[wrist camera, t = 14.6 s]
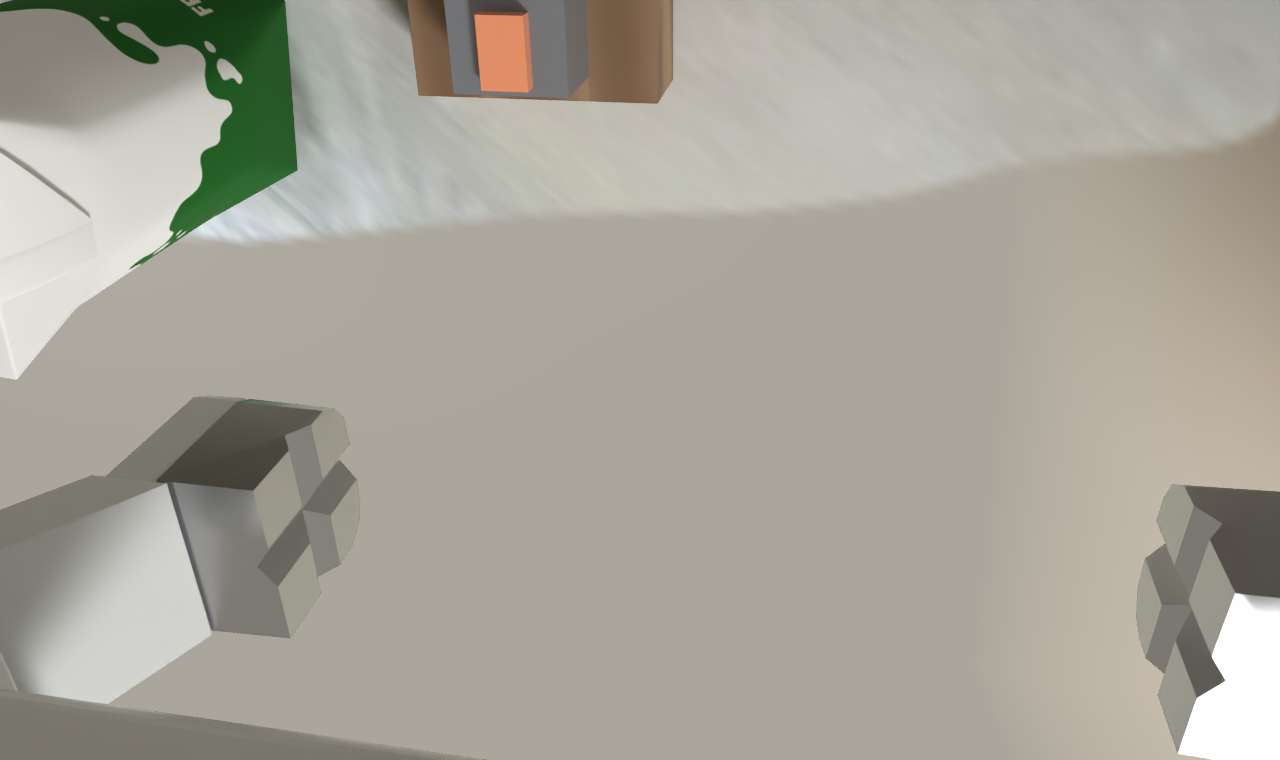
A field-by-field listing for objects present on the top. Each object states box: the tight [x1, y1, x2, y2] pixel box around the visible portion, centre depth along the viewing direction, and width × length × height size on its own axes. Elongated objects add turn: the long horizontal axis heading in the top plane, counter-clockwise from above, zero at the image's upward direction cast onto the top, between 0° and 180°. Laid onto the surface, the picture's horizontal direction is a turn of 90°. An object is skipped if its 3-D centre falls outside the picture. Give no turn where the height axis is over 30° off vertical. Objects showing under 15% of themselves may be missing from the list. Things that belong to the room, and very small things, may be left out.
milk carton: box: [0, 0, 297, 379], centre depth 34 cm, size 9×9×20 cm
